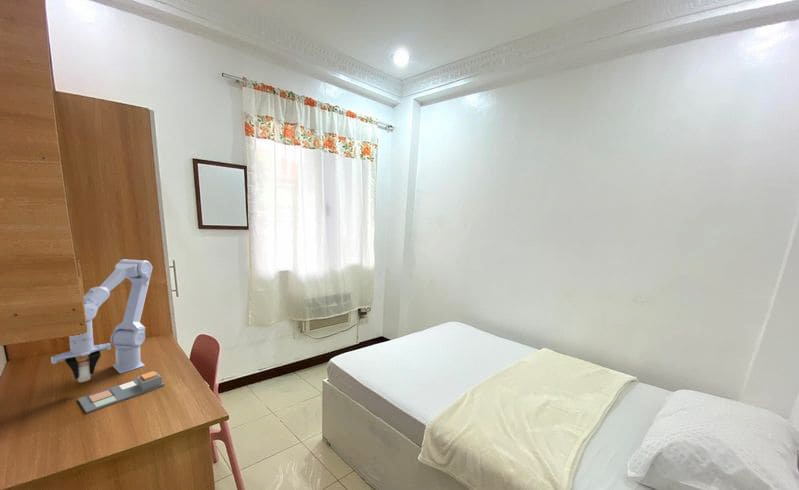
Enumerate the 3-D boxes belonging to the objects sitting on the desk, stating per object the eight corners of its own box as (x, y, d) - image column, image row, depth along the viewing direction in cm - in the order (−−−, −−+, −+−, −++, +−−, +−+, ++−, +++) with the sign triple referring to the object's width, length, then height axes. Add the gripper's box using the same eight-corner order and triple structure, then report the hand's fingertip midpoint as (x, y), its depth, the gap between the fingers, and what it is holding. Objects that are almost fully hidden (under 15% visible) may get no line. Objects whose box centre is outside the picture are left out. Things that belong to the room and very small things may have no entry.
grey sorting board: (77, 400, 106) (77, 390, 106) (153, 375, 123) (153, 366, 123) (86, 413, 100) (85, 403, 100) (164, 385, 117) (164, 376, 117)
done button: (141, 381, 116) (140, 375, 115) (153, 377, 119) (153, 371, 118) (144, 384, 113) (144, 378, 113) (157, 380, 117) (157, 374, 116)
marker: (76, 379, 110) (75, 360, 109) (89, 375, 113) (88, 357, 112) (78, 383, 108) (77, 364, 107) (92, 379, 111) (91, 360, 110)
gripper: (52, 348, 100) (56, 388, 102) (112, 334, 112) (114, 370, 114) (48, 342, 104) (51, 380, 106) (106, 329, 116) (108, 364, 118)
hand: (84, 375), depth 110 cm, fingers closed on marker, 3 cm apart
